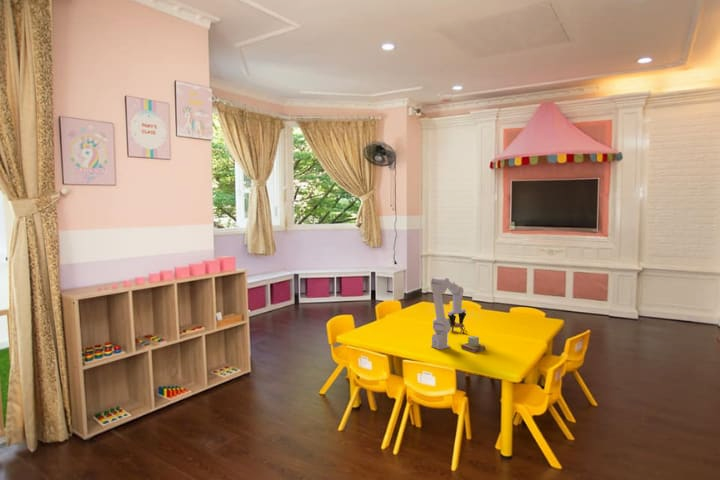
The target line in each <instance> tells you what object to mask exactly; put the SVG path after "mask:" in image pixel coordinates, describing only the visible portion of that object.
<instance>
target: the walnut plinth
mask: <svg viewBox="0 0 720 480" xmlns="http://www.w3.org/2000/svg"><path fill="white" fill-rule="evenodd" d="M460 346H461V348H460V349H462V350H464V351H466V352H469V353H472V354H476V353H479V352H483V351H486V346H485V345H483V344H481V343H479V346H476V347H473V346H469V345H468V342H467V343H463V344H461V345H460Z"/></svg>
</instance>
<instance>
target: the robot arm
mask: <svg viewBox="0 0 720 480" xmlns="http://www.w3.org/2000/svg"><path fill="white" fill-rule="evenodd" d="M430 288H431V292H432V296H433V302H434V310H435V318H434V319H433V321H432V329H433V331H434V334H432V336H431V345H430V347H433V348H434V349H438V350H445V349H447V348H450V347H451V345H448V334H449V333H450V332H451V330H452V327H451V326H450V323H449V320H448V318H449V319H450V321H451V325H452V326H454V325H455V322H456V319H457V316H456V315H458V323H460V324H463V325H464V323H463V322H464V321H465V320H464V319H465V318H466V316H467V310H466V309H465V308H462V307H463V306H462V305H463V304H462V303H463V297H464V296H463V295H464V288H463V287H462V286H459V285H458V284H456V282H455V281H452V282H451V281H450V279H449V278H447V277H437V276H433V277H432V278H431V280H430ZM447 290H448V291H449V292H450V293H451V295H452V310H450V311H447V316H448V318H447V317H445V316H446V315H445V309H444V308H445V307H444V300H443V294H445V293H446V291H447Z"/></svg>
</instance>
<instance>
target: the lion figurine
mask: <svg viewBox="0 0 720 480" xmlns="http://www.w3.org/2000/svg"><path fill="white" fill-rule="evenodd" d="M447 319H448V320H449V323H450V326H451V329H450V332H451V333H453V332H454V329H458V328H459V329H460V330H459V332H462V334H465V332H466V333H468V331H467V330H466V327H465V324H464V323H463V324H460V323H459V322H456V321H455V325H454V326H452V325H451V321H450V319H449V317H448V318H447Z"/></svg>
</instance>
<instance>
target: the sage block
mask: <svg viewBox="0 0 720 480" xmlns="http://www.w3.org/2000/svg"><path fill="white" fill-rule="evenodd" d="M467 339H468V341H467V343H468V345H469V346H473V347H476V346H479V344H480V337H479V336H475V335H471V336H469V337H467Z"/></svg>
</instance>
